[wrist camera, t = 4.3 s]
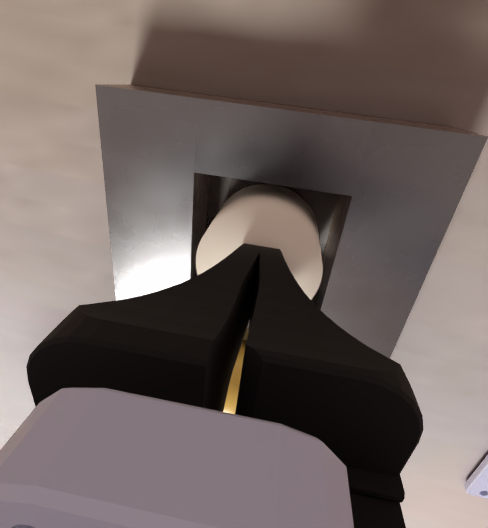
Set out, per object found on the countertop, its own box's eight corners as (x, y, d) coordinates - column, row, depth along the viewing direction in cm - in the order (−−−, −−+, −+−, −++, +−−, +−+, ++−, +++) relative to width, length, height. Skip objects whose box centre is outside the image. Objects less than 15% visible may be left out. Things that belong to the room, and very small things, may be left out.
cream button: (329, 193, 13) (337, 220, 10) (306, 287, 15) (308, 330, 12) (218, 176, 13) (198, 199, 11) (211, 271, 15) (193, 309, 13)
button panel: (452, 127, 12) (487, 136, 10) (311, 488, 23) (313, 530, 21) (130, 84, 13) (95, 84, 11) (148, 453, 24) (134, 490, 22)
